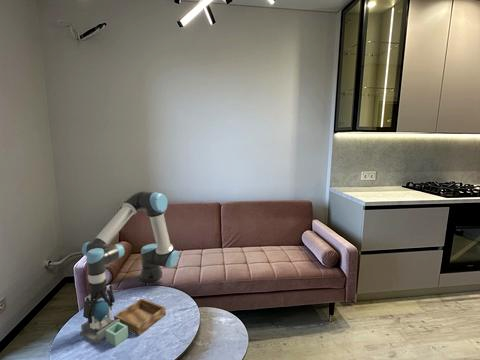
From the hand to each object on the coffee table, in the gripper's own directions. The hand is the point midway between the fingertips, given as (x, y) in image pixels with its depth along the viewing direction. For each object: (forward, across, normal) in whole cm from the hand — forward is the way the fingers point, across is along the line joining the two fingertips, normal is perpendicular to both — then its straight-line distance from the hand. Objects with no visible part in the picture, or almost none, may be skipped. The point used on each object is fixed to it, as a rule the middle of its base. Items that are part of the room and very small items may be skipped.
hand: (100, 322), depth 138 cm
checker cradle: (+5, 0, 0) cm, 5 cm away
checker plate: (+2, 0, 0) cm, 2 cm away
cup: (+5, 0, +12) cm, 13 cm away
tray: (+5, -16, +10) cm, 19 cm away
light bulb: (+1, 0, 0) cm, 1 cm away
